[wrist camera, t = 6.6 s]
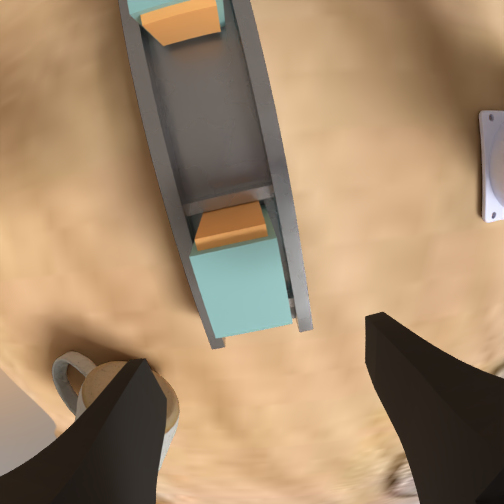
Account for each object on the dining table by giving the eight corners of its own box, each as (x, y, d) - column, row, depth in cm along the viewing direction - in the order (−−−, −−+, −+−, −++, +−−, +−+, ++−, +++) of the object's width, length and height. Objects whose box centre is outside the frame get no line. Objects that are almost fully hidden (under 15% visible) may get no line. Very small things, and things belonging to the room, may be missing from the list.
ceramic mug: (190, 372, 23) (177, 457, 16) (167, 429, 25) (155, 499, 18) (60, 323, 21) (13, 392, 14) (59, 388, 24) (28, 451, 16)
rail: (231, -42, 12) (231, -64, 10) (304, 304, 21) (313, 329, 18) (128, -16, 12) (113, -33, 10) (214, 323, 21) (212, 349, 18)
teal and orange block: (263, 195, 17) (274, 225, 12) (278, 272, 18) (292, 323, 14) (199, 209, 17) (185, 245, 12) (219, 284, 18) (216, 338, 14)
